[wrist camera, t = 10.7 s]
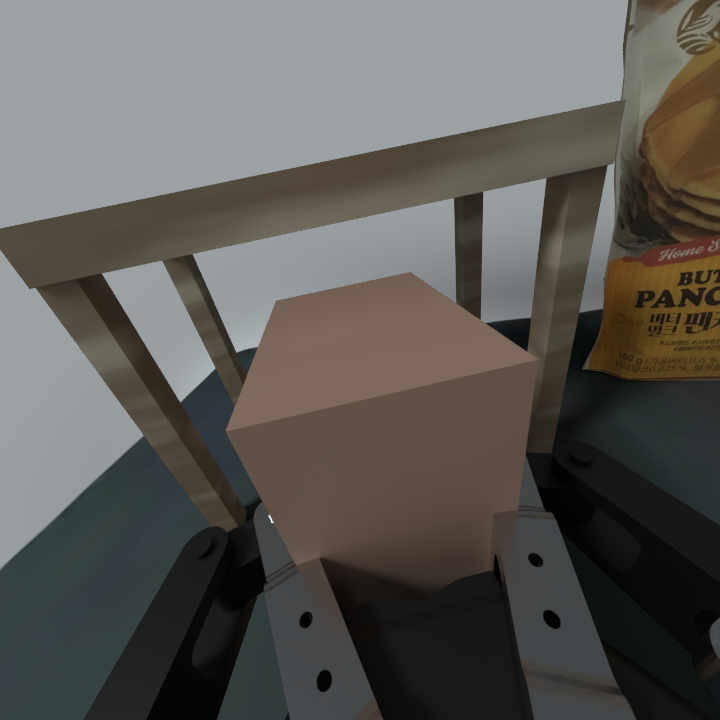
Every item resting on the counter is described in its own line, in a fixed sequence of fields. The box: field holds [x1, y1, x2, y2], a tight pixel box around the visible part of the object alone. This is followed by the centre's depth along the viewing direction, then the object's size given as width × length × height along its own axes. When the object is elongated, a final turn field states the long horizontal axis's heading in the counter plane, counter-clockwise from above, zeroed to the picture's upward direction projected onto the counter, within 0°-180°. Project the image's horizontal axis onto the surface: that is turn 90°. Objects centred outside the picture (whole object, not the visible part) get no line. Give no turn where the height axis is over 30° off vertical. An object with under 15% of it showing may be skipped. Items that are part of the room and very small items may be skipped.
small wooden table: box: [0, 99, 626, 532], centre depth 20 cm, size 12×23×19 cm, turn 98°
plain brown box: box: [226, 272, 538, 621], centre depth 11 cm, size 7×5×12 cm
